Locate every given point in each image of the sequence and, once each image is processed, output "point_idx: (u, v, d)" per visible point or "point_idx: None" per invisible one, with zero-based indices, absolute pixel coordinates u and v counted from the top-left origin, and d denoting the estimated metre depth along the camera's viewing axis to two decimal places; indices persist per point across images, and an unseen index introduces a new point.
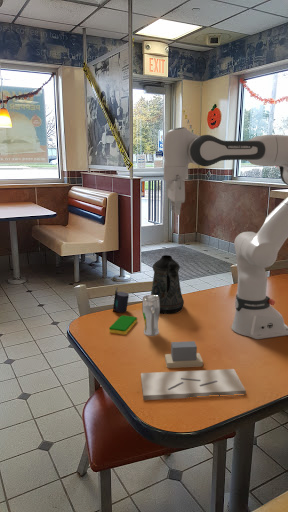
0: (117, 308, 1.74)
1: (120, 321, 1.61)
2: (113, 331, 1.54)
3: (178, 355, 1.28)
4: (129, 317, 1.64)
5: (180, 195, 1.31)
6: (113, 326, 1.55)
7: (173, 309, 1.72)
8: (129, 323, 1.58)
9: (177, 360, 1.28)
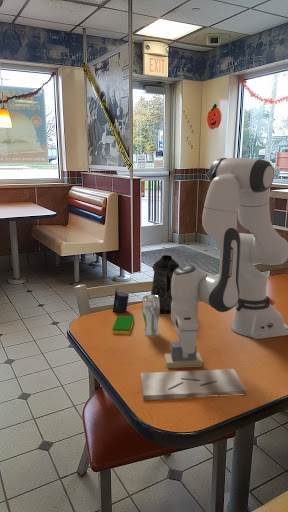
0: (117, 308, 1.74)
1: (120, 321, 1.60)
2: (117, 332, 1.53)
3: (178, 355, 1.28)
4: (126, 317, 1.65)
5: None
6: (116, 327, 1.55)
7: None
8: (130, 322, 1.59)
9: (177, 360, 1.28)
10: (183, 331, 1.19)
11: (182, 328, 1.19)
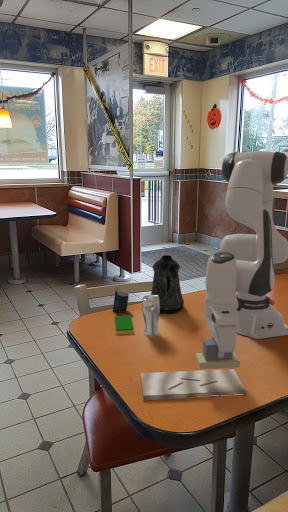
0: (117, 308, 1.74)
1: (119, 321, 1.60)
2: (120, 332, 1.53)
3: (212, 354, 1.13)
4: (124, 317, 1.65)
5: None
6: (118, 327, 1.54)
7: (173, 309, 1.72)
8: (130, 322, 1.59)
9: (211, 359, 1.13)
10: (221, 326, 1.04)
11: (220, 323, 1.03)
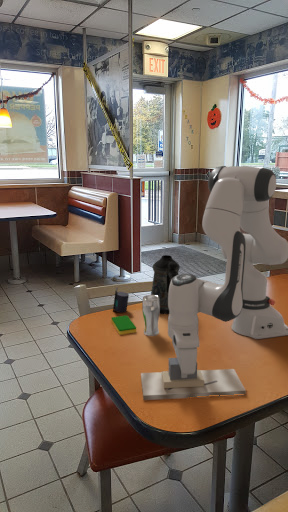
0: (117, 308, 1.74)
1: (119, 321, 1.60)
2: (124, 332, 1.53)
3: (176, 373, 1.14)
4: (121, 317, 1.65)
5: None
6: (121, 327, 1.54)
7: None
8: (130, 321, 1.60)
9: (175, 379, 1.14)
10: (181, 348, 1.05)
11: (181, 346, 1.04)
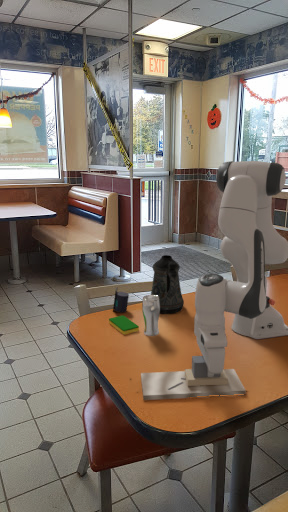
0: (117, 308, 1.74)
1: (119, 322, 1.59)
2: (127, 332, 1.53)
3: (200, 371, 1.15)
4: (119, 317, 1.64)
5: None
6: (124, 327, 1.54)
7: (173, 309, 1.72)
8: (129, 321, 1.60)
9: (199, 377, 1.15)
10: (209, 348, 1.06)
11: (209, 345, 1.05)
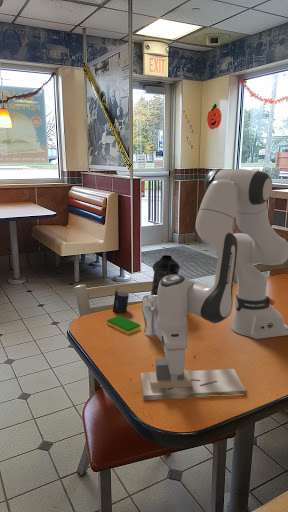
0: (117, 308, 1.74)
1: (119, 322, 1.59)
2: (131, 331, 1.54)
3: (163, 374, 1.14)
4: (116, 317, 1.64)
5: None
6: (127, 327, 1.54)
7: None
8: (129, 320, 1.61)
9: (162, 379, 1.14)
10: (169, 349, 1.05)
11: (169, 346, 1.04)
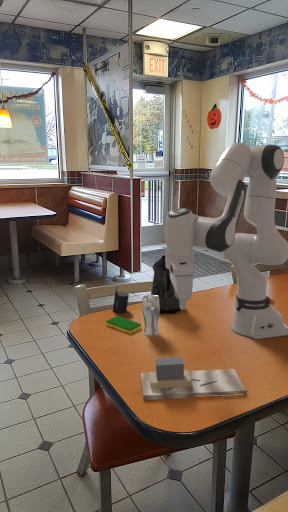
0: (117, 308, 1.74)
1: (119, 322, 1.59)
2: (133, 330, 1.54)
3: (163, 374, 1.14)
4: (115, 318, 1.63)
5: None
6: (128, 327, 1.54)
7: (173, 309, 1.72)
8: (128, 320, 1.61)
9: (162, 379, 1.14)
10: (178, 276, 1.12)
11: (177, 273, 1.11)
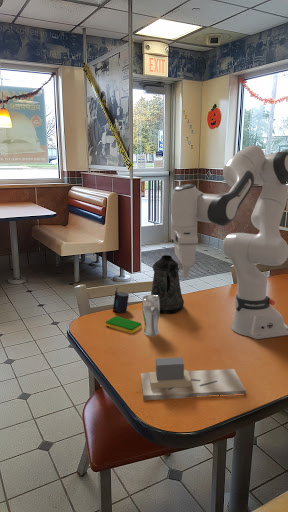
0: (117, 308, 1.74)
1: (119, 323, 1.59)
2: (134, 330, 1.55)
3: (163, 374, 1.14)
4: (114, 318, 1.63)
5: None
6: (130, 327, 1.55)
7: (173, 309, 1.72)
8: (128, 320, 1.61)
9: (162, 379, 1.14)
10: (182, 244, 1.22)
11: (182, 241, 1.21)
